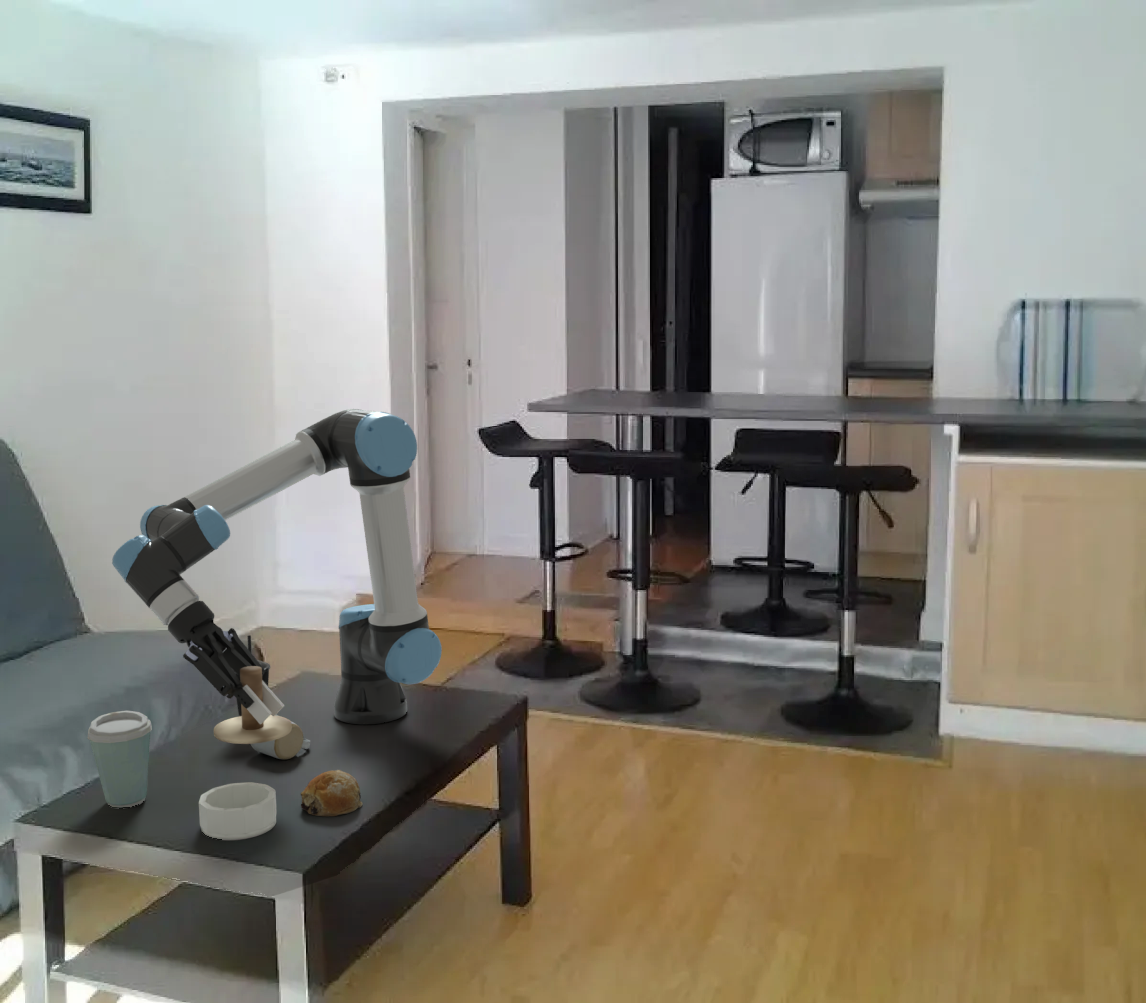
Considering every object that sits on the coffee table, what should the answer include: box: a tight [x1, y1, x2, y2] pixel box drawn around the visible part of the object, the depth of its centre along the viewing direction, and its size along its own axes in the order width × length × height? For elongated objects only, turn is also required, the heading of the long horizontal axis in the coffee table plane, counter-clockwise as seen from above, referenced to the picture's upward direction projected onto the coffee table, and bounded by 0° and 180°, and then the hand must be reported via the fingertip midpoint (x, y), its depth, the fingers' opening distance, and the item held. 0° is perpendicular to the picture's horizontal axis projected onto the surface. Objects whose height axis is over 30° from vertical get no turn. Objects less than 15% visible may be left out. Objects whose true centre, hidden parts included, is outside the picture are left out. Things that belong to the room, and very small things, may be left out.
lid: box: [213, 666, 292, 745], centre depth 217 cm, size 13×13×11 cm
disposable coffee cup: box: [86, 710, 153, 808], centre depth 219 cm, size 11×11×15 cm
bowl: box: [198, 781, 277, 841], centre depth 210 cm, size 12×12×5 cm
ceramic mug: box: [250, 714, 311, 760], centre depth 243 cm, size 11×8×8 cm
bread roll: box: [300, 769, 363, 817], centre depth 217 cm, size 10×10×8 cm
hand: (272, 714), depth 217 cm, fingers closed on lid, 4 cm apart
